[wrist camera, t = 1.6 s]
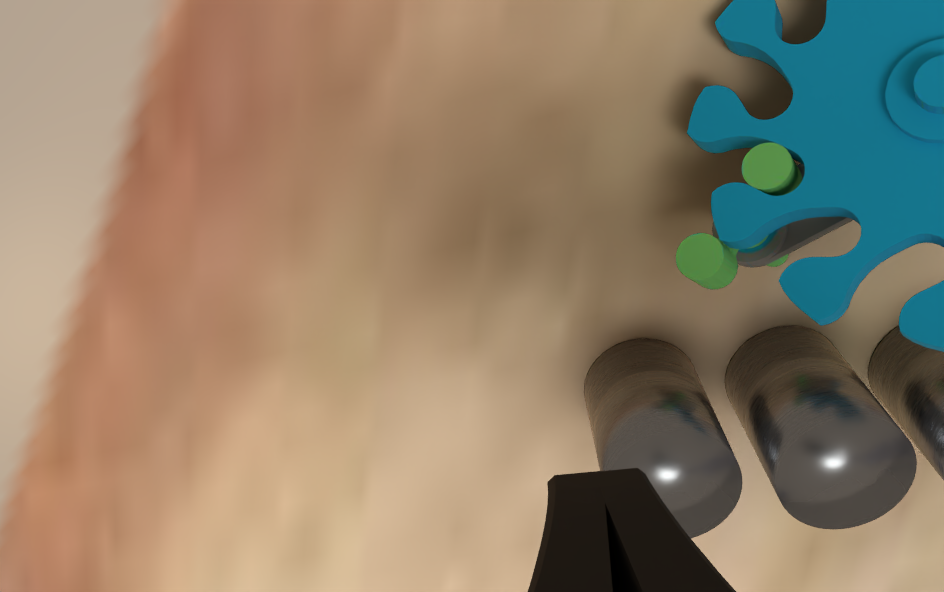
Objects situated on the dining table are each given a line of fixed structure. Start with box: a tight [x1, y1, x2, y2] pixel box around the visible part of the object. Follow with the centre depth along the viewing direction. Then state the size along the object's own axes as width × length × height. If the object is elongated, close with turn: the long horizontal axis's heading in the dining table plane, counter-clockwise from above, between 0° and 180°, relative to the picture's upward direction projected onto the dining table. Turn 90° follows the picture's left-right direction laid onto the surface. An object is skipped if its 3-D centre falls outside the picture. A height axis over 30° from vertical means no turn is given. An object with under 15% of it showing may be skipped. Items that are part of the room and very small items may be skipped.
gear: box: [676, 0, 944, 352], centre depth 18 cm, size 11×6×10 cm
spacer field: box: [584, 326, 944, 538], centre depth 18 cm, size 11×20×4 cm, turn 6°
